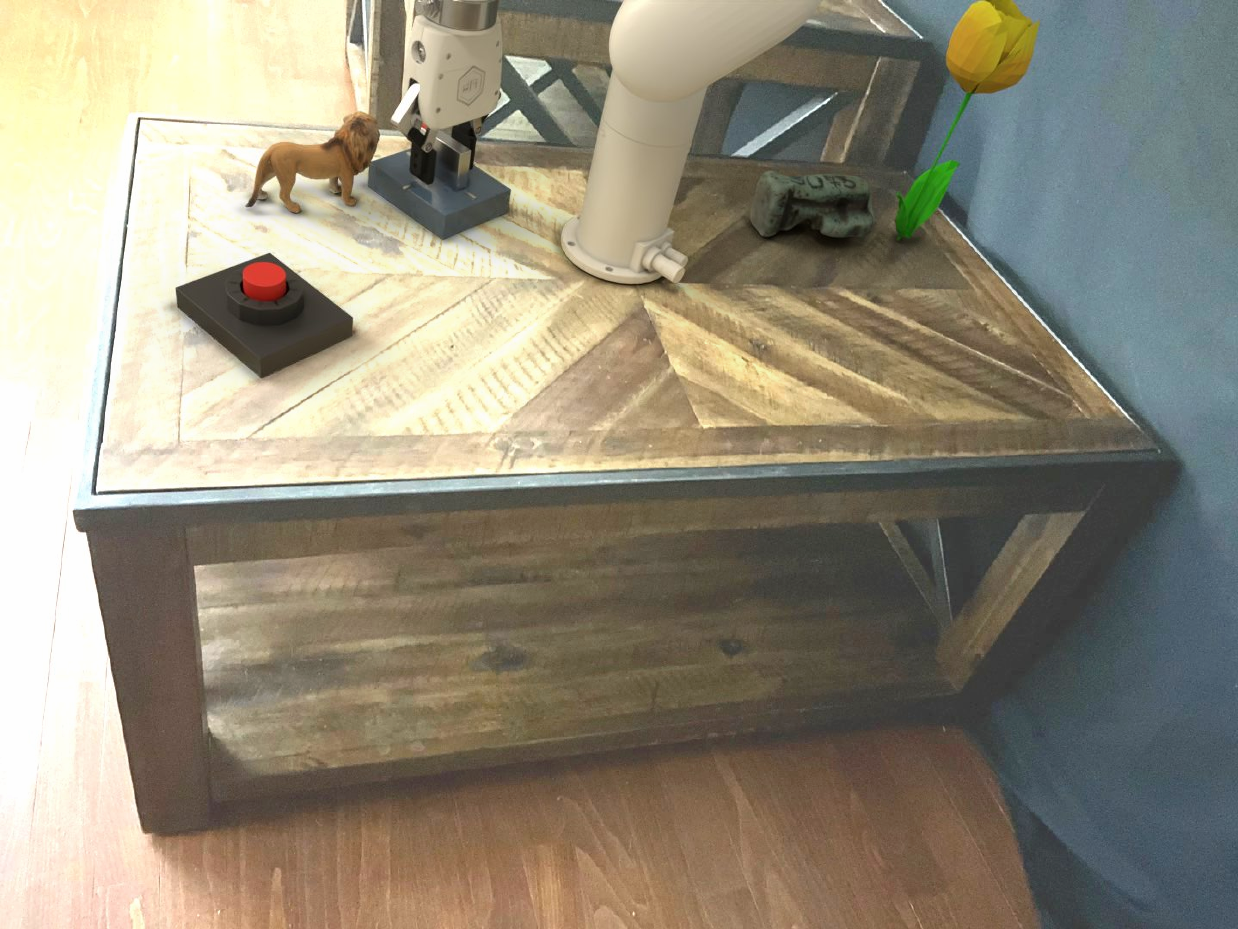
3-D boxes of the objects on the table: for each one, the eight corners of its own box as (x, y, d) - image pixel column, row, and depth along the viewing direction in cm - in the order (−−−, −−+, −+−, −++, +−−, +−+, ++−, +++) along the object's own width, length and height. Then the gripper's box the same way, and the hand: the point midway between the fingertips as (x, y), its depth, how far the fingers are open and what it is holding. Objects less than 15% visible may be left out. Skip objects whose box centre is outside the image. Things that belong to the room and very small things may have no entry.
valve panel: (510, 211, 115) (513, 187, 113) (440, 240, 108) (443, 215, 106) (436, 162, 119) (439, 137, 117) (364, 187, 112) (366, 161, 110)
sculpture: (817, 162, 131) (730, 197, 125) (850, 131, 125) (759, 166, 118) (863, 244, 131) (778, 283, 124) (899, 217, 124) (810, 257, 118)
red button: (294, 293, 92) (294, 277, 90) (260, 307, 89) (260, 291, 88) (269, 273, 93) (268, 257, 92) (234, 286, 90) (233, 270, 89)
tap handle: (467, 187, 111) (471, 147, 108) (456, 191, 110) (461, 151, 107) (425, 159, 113) (429, 120, 110) (415, 163, 112) (418, 123, 109)
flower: (884, 258, 126) (999, 17, 105) (856, 221, 131) (960, -16, 111) (941, 258, 129) (1064, 24, 108) (912, 222, 134) (1023, -8, 114)
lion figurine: (362, 174, 114) (365, 99, 108) (387, 199, 112) (391, 124, 105) (235, 198, 106) (230, 118, 99) (258, 226, 103) (255, 146, 97)
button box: (352, 336, 95) (354, 301, 92) (261, 378, 88) (259, 342, 85) (270, 271, 99) (269, 236, 96) (177, 307, 92) (173, 270, 90)
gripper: (419, 36, 92) (405, 210, 105) (546, 6, 103) (519, 167, 116) (363, 1, 95) (356, 175, 107) (493, -24, 106) (473, 136, 118)
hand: (441, 169), depth 111 cm, fingers open, 5 cm apart
